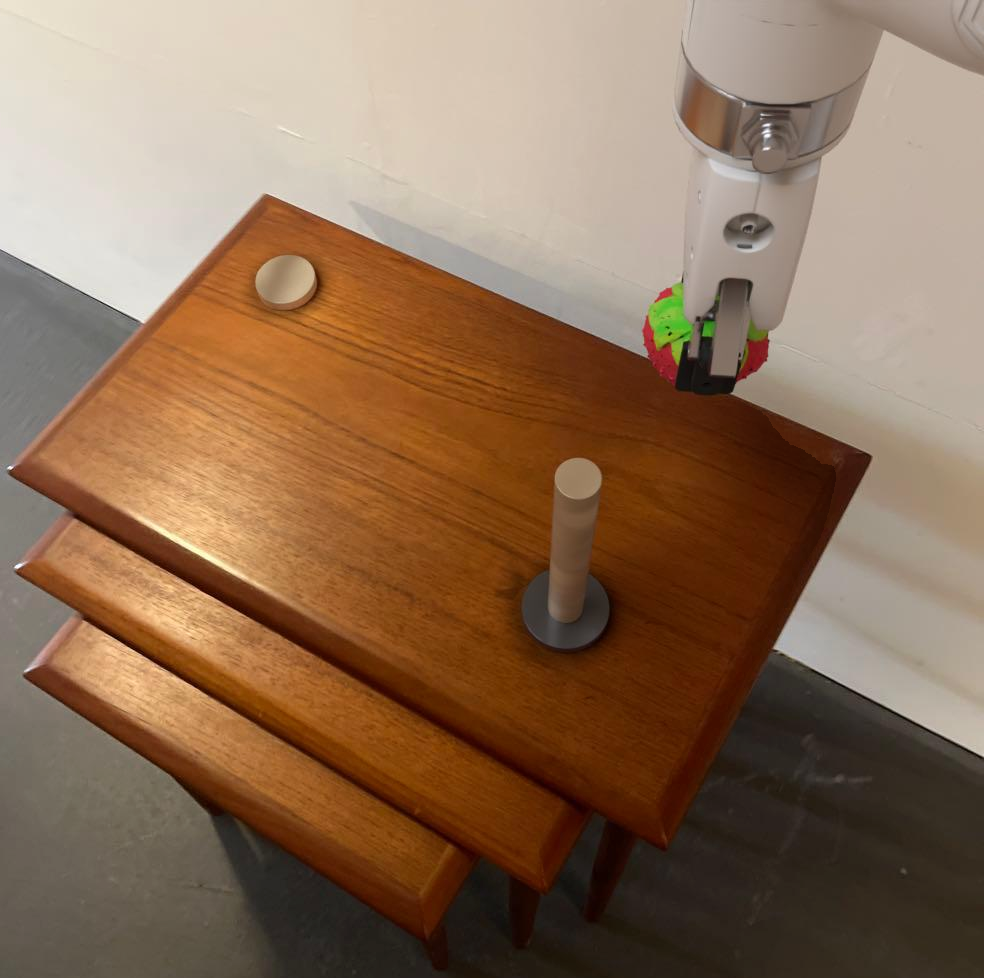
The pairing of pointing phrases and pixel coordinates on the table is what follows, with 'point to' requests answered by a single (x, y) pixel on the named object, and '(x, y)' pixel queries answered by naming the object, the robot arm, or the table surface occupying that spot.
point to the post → (569, 567)
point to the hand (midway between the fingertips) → (705, 336)
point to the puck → (286, 282)
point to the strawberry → (672, 329)
